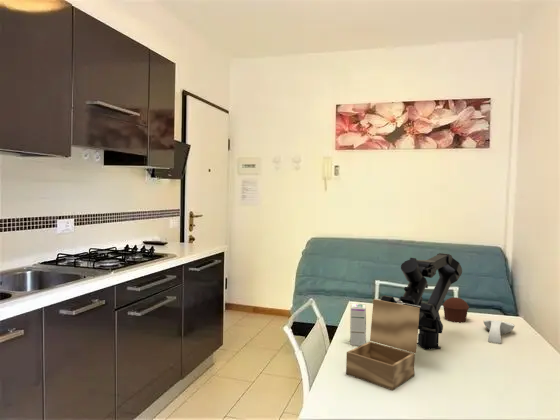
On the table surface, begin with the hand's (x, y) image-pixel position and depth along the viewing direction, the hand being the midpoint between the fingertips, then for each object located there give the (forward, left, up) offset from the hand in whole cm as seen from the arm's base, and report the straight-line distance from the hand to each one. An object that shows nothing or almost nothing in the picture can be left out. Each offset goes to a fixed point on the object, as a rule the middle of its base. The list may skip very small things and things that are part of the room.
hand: (399, 328), depth 144 cm
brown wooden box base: (+10, +7, -12) cm, 17 cm away
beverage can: (-18, -40, -12) cm, 45 cm away
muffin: (-52, -44, -12) cm, 69 cm away
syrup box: (+5, -22, -12) cm, 26 cm away
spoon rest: (-56, -21, -13) cm, 61 cm away
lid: (+3, +2, +2) cm, 5 cm away
